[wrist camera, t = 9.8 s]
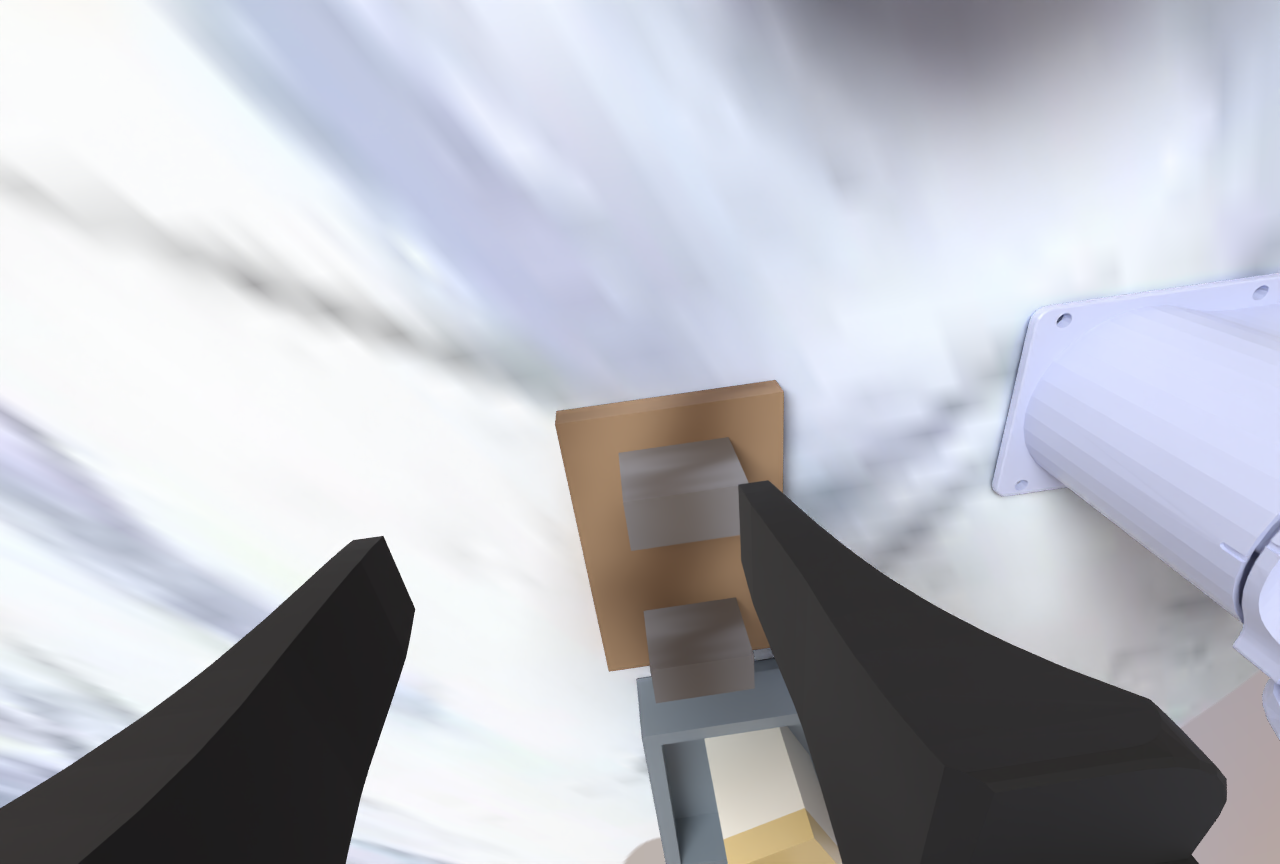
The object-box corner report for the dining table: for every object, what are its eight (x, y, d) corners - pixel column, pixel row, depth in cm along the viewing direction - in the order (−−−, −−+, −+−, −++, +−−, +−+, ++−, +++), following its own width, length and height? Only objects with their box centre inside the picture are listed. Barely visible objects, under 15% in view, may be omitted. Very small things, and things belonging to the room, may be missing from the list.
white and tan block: (773, 708, 29) (814, 838, 24) (809, 754, 31) (853, 883, 26) (704, 737, 30) (729, 870, 25) (744, 781, 32) (774, 911, 27)
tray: (873, 643, 28) (902, 697, 26) (855, 787, 35) (877, 842, 32) (636, 679, 28) (641, 737, 25) (661, 817, 34) (668, 875, 32)
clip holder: (775, 380, 21) (813, 433, 17) (775, 628, 27) (802, 704, 24) (556, 411, 21) (550, 471, 17) (608, 653, 27) (611, 733, 24)
